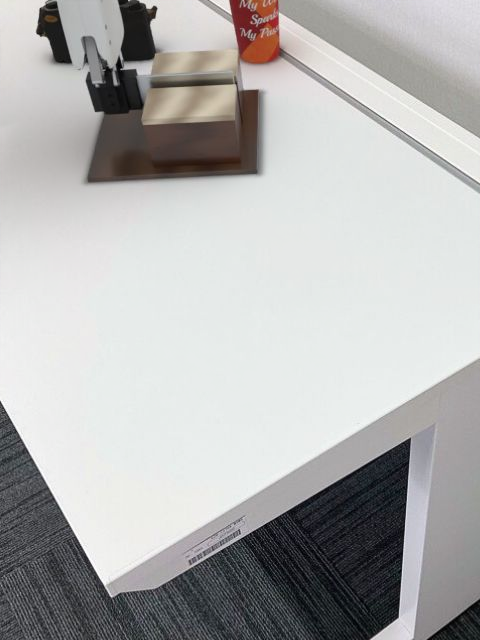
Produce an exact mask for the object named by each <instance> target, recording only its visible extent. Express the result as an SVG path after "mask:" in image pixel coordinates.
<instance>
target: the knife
mask: <svg viewBox="0 0 480 640" xmlns="http://www.w3.org/2000/svg"><path fill="white" fill-rule="evenodd" d="M103 72H109V73H110V70H108V71H105V70H103ZM117 73H118V77H119V81H120V82H123V85H124V89H125V93H126V97H127V100H128V104H129V108H130V110H142V108H143V106H144V105H145V100H146V95H147V90H148V89H151V88H171V87H192V86H212V85H233V84H235V82H234V76H233V70H225V71H207V72H189V73H171V74H152V75H151V74H138V71H137V69H136V68H127V69H121V70H117ZM110 74H111V73H110ZM85 84H86V87H87V91H88V95H89V97H90V100H91V104H92V108H93V111H94V113H104V111H103V108H102V105H101V101H100V98H99V95H98V91H97V88H96V86H95V85H93V84H92V80H91V74H90V70H89V71H87V74H86V76H85Z"/></svg>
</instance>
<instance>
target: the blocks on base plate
mask: <svg viewBox="0 0 480 640" xmlns="http://www.w3.org/2000/svg"><path fill="white" fill-rule="evenodd" d="M241 67H242V66H241V59H240V53H239V48H238V49H216V50H214V49H213V50H195V51H194V50H193V51H176V52H175V51H172V52H170V51H169V52H156V53H155V57H154V58H153V61H152V67H151V71H150V75H152V74H171V73H189V72H207V71H225V70H233V76H234V82H235V84H233V85H212V86H192V87H171V88H151V89H148V90H147V95H146V100H145V105H144V106H143V108H142V110H129V113H127V114H111V115H106V114H105V113H104V112H103V117H102V120H101V123H100V127H99V132H98V135H97V140H96V144H95V147H94V151H93V155H92V159H91V163H90V165H89V166H90V167H89V169H88V173H87V178H86V179H87V182H88V183H98V182H99V183H101V182H102V183H105V182H122V181H123V182H124V181H141V180H142V181H143V180H159V179H160V180H161V179H179V178H181V179H182V178H197V177H199V178H200V177H215V176H216V177H219V176H234V175H254V174H258V173H259V171H258V170H259V128H260V123H259V122H260V89H257V88H256V89H244V83H243V82H244V81H243V76H242V68H241Z"/></svg>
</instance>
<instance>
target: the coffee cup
mask: <svg viewBox="0 0 480 640" xmlns="http://www.w3.org/2000/svg"><path fill="white" fill-rule="evenodd" d="M228 3H229V8H230V14H231V18H232V22H233V28H234V33H235V38H236V43H237V44H236V45H237V48H238V52H239V58H241V60H243V61H244V62H246V63H250V64H266V63H270V62H272V61H275V60H276V59H278V57H279V56H280V52H281V51H280V49H281V48H280V46H281V45H280V10H279V0H228Z"/></svg>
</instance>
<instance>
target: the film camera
mask: <svg viewBox="0 0 480 640" xmlns="http://www.w3.org/2000/svg"><path fill="white" fill-rule="evenodd" d="M118 4H119V8H120V12H121V16H122V21H123V27H124V36H123V41H122V45H121V49H120V50H121V53H122V57H123V61H124V62H144V61H149V60H154V57H155V53H157V51H156V44H155V41H154V35H153V32H152V27H151V23H152V22H153V20H156V18H157V13H158V9H159V8H158V7H157V5H153V6H152V7H151V8H147V4H146V3H144V2H141V1H140V0H118ZM35 33H36V35H37V36H39V37H40V38H42V37H44V38H47V40H48V42H49V46H50V48H51V52H52V56H53V59H54V61H55V62H56V63H58V64H62V62H63V61H64V62H65V63H67V64H73V63H72V60H71V56H70V53H69V49H68V45H67V41H66V38H65V34H64V30H63V26H62V22H61V18H60V14H59V9H58V4H57V0H46V1H45V2H44V5H43V6H40V7H39V8H38V19H37V26H36V29H35ZM86 63H87V64H89V63H88V58H86V61H85V64H86Z"/></svg>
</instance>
